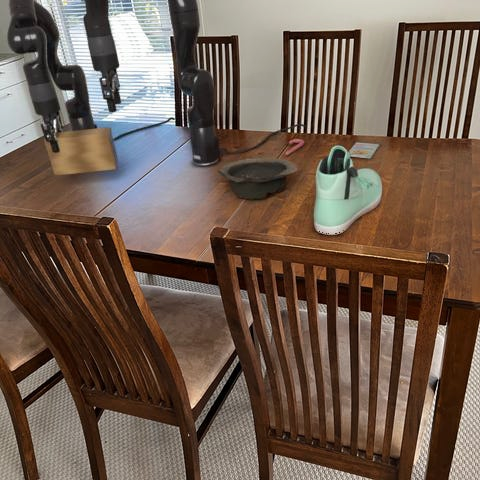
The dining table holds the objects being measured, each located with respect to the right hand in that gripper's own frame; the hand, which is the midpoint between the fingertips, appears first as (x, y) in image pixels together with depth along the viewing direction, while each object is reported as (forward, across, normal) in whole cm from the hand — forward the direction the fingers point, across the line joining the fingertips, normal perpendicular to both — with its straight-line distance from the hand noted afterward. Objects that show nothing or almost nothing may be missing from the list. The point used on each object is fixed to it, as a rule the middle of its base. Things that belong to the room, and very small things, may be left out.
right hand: (115, 107), depth 146 cm
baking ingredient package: (+29, +17, -82) cm, 89 cm away
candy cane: (+29, +24, -57) cm, 69 cm away
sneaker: (+28, -26, -66) cm, 77 cm away
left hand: (+12, +4, +22) cm, 26 cm away
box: (+21, +5, +15) cm, 26 cm away
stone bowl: (+28, -8, -42) cm, 51 cm away
